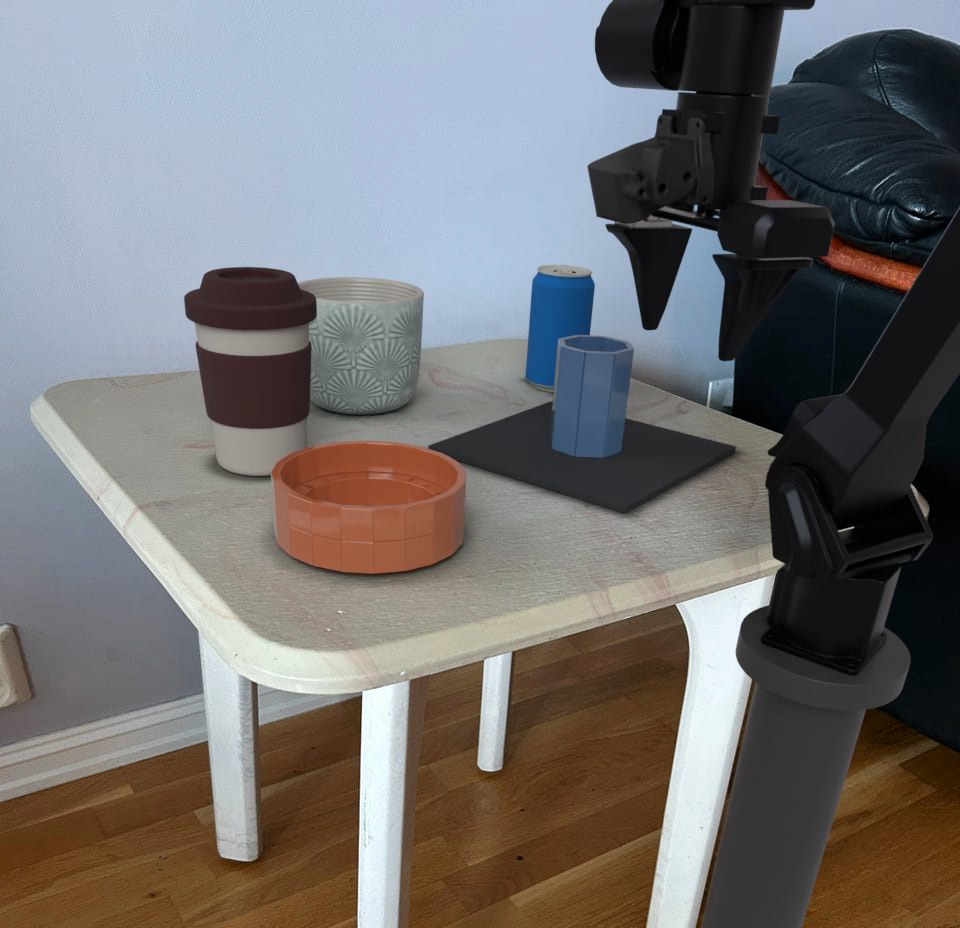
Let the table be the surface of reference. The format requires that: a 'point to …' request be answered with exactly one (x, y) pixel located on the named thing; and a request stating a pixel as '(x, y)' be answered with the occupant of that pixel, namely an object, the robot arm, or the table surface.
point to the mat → (586, 459)
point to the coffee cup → (253, 363)
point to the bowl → (368, 506)
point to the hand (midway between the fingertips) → (685, 344)
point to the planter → (364, 343)
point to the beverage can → (556, 317)
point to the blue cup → (590, 395)
